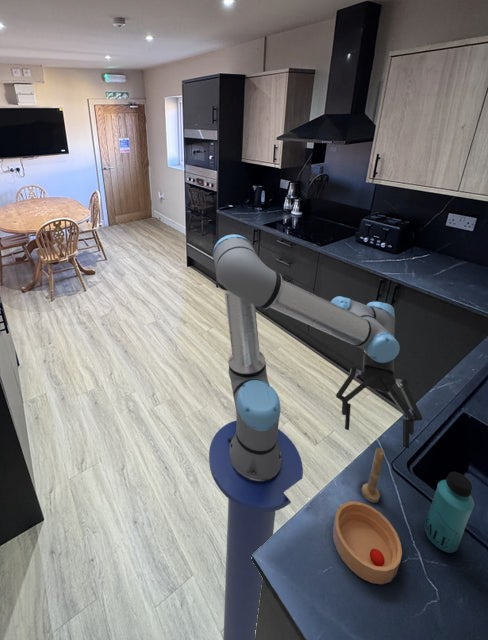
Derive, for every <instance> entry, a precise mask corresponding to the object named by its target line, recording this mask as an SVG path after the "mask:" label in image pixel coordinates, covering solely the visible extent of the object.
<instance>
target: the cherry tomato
mask: <svg viewBox="0 0 488 640" xmlns="http://www.w3.org/2000/svg"><path fill="white" fill-rule="evenodd" d="M370 558H371V561H372V562H373V563H374V564H375V565H376V566H380V567H381V566H383V565H384V563H385V559H384V556H383V554H382V553H381V551H379V550H378V549H372V550H371V551H370Z"/></svg>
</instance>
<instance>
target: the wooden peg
mask: <svg viewBox="0 0 488 640" xmlns="http://www.w3.org/2000/svg"><path fill="white" fill-rule="evenodd" d="M384 457H385V451H384V449H383V448H380V447H376V448H375V451H374V457H373V461H372V466H371V470H370V474H369V477H368V478H369V479H368V482H366V483H364V484H362V487H361V494H362V496H363V497H364V498H365V500H367V502H371V503H373V504H374V503H378V502H379V500H380V497H381V494H380V491H379V489H378V488H377V486H378V482H379V477H380V474H381V469H382V465H383V461H384Z"/></svg>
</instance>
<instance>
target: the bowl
mask: <svg viewBox="0 0 488 640" xmlns="http://www.w3.org/2000/svg"><path fill="white" fill-rule="evenodd" d="M332 526H333V527H332V538H333V542H334V545H335V546H334V547H335V549H336V551H337V552H338V555H339V557H340V558H341V560H342V561H343V562H344V564H345V565H346V566H347V567H348V569H349V570H350V571H351V572H353V573H354V574H355V575H356V576H358V577H359V578H360V579H362V580H364V581H367V582H368V583H371V584H378V585H385V584H387V583H391V582H392V581H393V580H394V578H396V576H397V574H398V570H399V567H400V564H401V560H402V556H403V550H402V543H401V539H400V537H399V535H398V533H397V531H396V529H395V527H394V526H393V525H392V523H391V522H390V521H389V520H388V519H387V518H386V516H384V514H382V513H381V512H380V511H378V509H375V508H374V507H373V506H371V505H369V504H367V503H364V502H361V501H355V500H354V501H351V500H350V501H346V502H344V503H343V504H340V506H339V507H337V510H336V513H335V515H334V520H333V525H332ZM372 549H378V550H379V551H381V553H382V554H383V556H384V559H385V563H384V565H383V566H381V567H380V566H376V565H375V564H374V563H373V562H372V561H371V558H370V551H371V550H372Z"/></svg>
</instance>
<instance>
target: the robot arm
mask: <svg viewBox="0 0 488 640" xmlns="http://www.w3.org/2000/svg"><path fill="white" fill-rule="evenodd" d="M212 259H213V261H214V267H215V275H216V282H217V286H218V288H219V289H220V290H221V291H223V294H224V296H223V297H224V301H225V302H224V303H225V310H226V318H227V325H228V334H229V340H230V341H229V343H230V349H231V350H230V351H231V353H230V355H229V357H228V359H227V362H228V363H227V364H228V377H229V380H230V384H231V390H232V396H233V401H234V408H235V415H236V420H237V421H236V420H235V421H236V433H235V435H234V437H233V438H228V441H231V443H230V446H229V459H230V463H231V465H232V467H233V469H234V470H235V472H236V473H237V474H238V475H239V476H240V477H242V478H243V479H245V480H247V481H249V482H252V483H257V484H263V483H268V482H270V481H272V480H274V479H275V478H276V477H277V476H278V474H279V472H280V469H281V463H282V456H281V452H280V449H279V446H278V443H277V435H278V429H279V425H280V416H281V411H282V410H281V401H280V397H279V394H278V393H277V391H276V390H275V389H274V387H273V386H271V384H270V381H269V379H268V374H267V373H268V372H267V363H266V358H265V355H264V354H263V353H262V352H261V350H260V342H259V331H258V321H257V310H256V307H258V308H260V309H262V310H268V309H269V308H270V309H273V310H274V311H277V312H279V313H281V314H284V315H286V316H288V317H291V318H293V319H295V320H297V321H299V322H301V323H303V324H305V325H309V326H311V327H312V328H315V329H317V330H320V331H321V332H323V333H326V334H327V335H330V336H333V337H335V338H336V339H339V340H341V341H344V342H345V343H349V344H351V345H353V346H355V347H357V348H359V349H361V350H363V352H364V354H363V360H362V369H359V368H358V369H357V368H356V367H355V366H352V367H351V368H350V370H349V375H348V376H347V378H346V379H345V380H344V382H343V383H342V385H341V387H340V388H339V389H338V391H337V392H336V394H335V398H337V399H338V400H340V402H341V415H343V416H345V420H344V430H346V431H350V423H351V422H350V420H351V408H352V406H351V405H352V404H351V403H348V402H349V401H350V400H352V399H353V398H355V397H356V396H357V395H358V394H359V393H360V392H363V390H364V389H366V388H368V389H370V390H372V391H373V390H376V391H378V392H380V393H381V392H382V393H385V392H386V393H387V395H388V396H389V397H390V398H391V399H392V401H393V402H394V404H395V405H396V406H397V408H398V409H399V411H400V412H401V414H402V415H403V416H404V417H405V419H404V418H403V419H402V448H406V449H407V450H408V449H410V436H413V435H414V433H415V430H414V429H415V427H414V426H415V422H416V421H422V420H423V416H422V414H421V411H420V410H419V408H418V406H417V404H416V402H415V401H416V400H415V399H414V397H413V396H412V393H411V391H410V389H409V383H408V380H407V379H405V378H403V379H401V378H395V360H394V359H395V358H396V357H397V356H398V355H399V354H400V349H401V347H400V343H399V341H397V339H396V338H395V330H396V329H395V328H396V326H395V325H396V316H395V308H394V307H393V306H392V305H391V304H389V303H386V302H381V301H370V302H368V303H367V304H364V303H362V302H358V301H357V300H353V299H351V298H349V297H344V296H341V295H340V296H338V295H337V296H335V297H333V298H332V299H331V301H330V300H327V299H325V298H323V297H320V296H318V295H316V294H314V293H312V292H310V291H308V290H306V289H304V288H302V287H299V286H297V285H296V284H293V283H291V282H289V281H287V280H285V279H283V276H282V274H281V273H280V272H277V271H275V270H274V269H271V268H270V267H268V266H267V265H266V264H265V263H264V262H263V261H262V260H261V259H260V257H259V255H258V254H257V252H256V251H255V248H254V246H253V243H252V242H251V241H250V240H249V239H248V238H246V237H244V236H242V235H239V234H233V233H232V234H227V235H225V236H222V237H221V238H220V239H219V240H217V242H216V243H215V245H214V247H213V251H212ZM359 375H360V377H361V378H362V380H363V382H362V383H360V384H359V385H358V386H356V387H355V388H354V389H352V391H350V392H349V393H348V394H347V395H346V396H344V393H345V392H346V391H347V389H348V388H349V386H350V385H351V383H352V382H353V380H354V379H355V378H357V377H358V376H359ZM395 384H396V385H397V387H398V388H400V391H401V393H402V395H403V397H404V400H405V402H406V403H407V406H408V407H409V409H408V407H407V406H406V405H405V403H404V402H403V400H402V399H401V398H400V396H399V395H398V394H397V392H396V390H395V388H394V387H393V386H394V385H395Z"/></svg>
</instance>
